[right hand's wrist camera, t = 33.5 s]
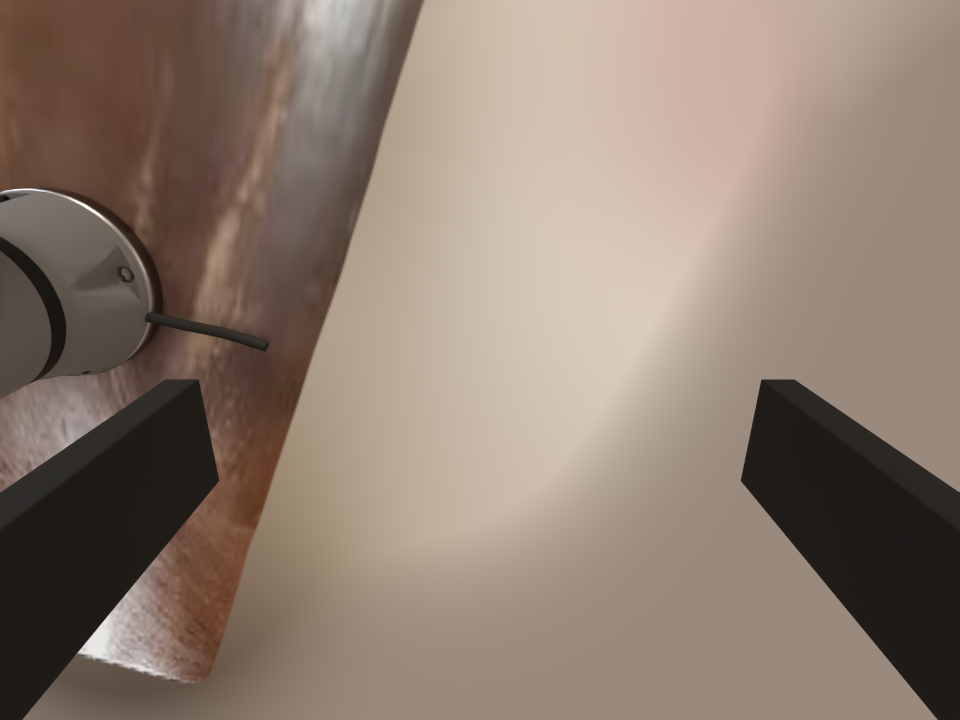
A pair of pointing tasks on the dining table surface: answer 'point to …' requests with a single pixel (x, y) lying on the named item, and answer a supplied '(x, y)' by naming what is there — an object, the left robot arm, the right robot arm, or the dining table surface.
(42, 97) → the dining table surface
